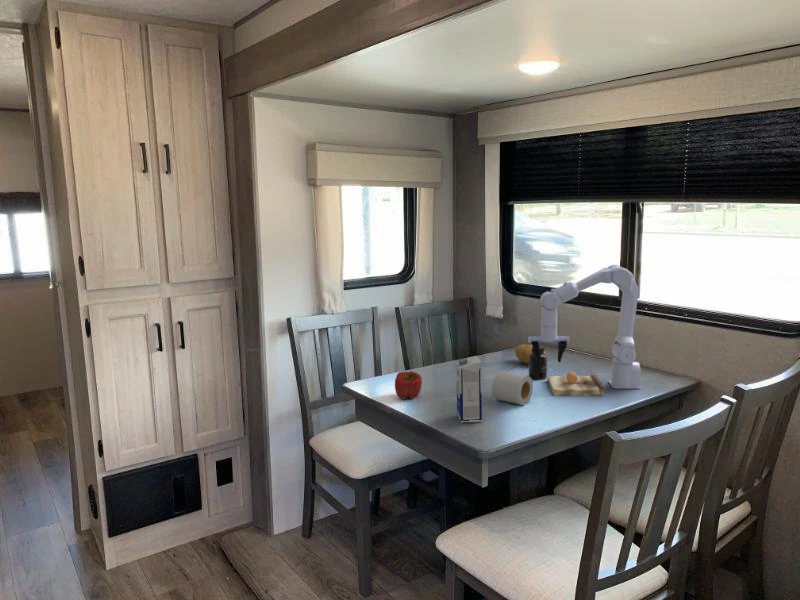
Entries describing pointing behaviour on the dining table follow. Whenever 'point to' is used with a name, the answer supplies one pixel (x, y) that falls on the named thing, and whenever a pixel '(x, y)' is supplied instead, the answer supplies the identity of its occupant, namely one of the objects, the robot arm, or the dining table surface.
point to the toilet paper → (512, 387)
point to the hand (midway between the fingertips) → (548, 361)
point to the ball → (571, 377)
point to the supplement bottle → (538, 364)
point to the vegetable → (408, 384)
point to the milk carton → (469, 389)
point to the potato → (524, 352)
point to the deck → (576, 386)
